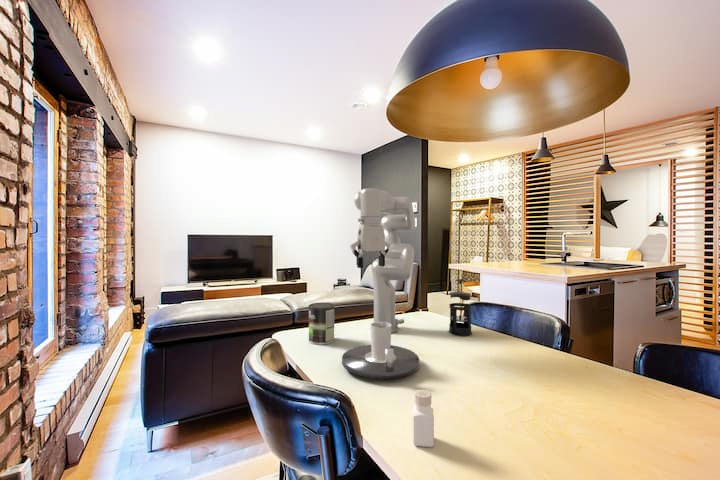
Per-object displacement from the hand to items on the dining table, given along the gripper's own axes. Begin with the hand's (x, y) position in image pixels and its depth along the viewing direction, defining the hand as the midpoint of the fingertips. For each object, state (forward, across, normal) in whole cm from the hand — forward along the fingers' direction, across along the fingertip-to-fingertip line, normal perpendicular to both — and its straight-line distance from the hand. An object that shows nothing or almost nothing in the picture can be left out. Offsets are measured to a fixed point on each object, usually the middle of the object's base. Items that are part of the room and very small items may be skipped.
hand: (371, 266), depth 119 cm
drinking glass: (+26, -8, -19) cm, 33 cm away
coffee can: (+30, -14, +14) cm, 36 cm away
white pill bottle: (+28, -22, -54) cm, 65 cm away
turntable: (+29, -9, -19) cm, 36 cm away
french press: (+31, +41, -6) cm, 52 cm away
